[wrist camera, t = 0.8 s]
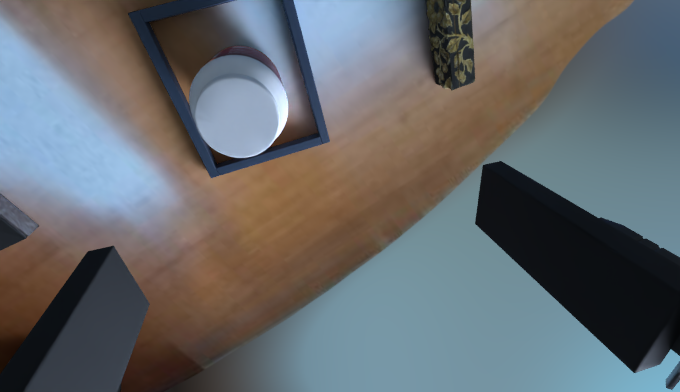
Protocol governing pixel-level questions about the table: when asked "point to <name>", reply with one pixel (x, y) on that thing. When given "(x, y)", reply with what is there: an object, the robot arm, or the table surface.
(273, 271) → the table surface
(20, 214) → the picture frame
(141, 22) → the dark grey open frame
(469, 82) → the decorative block
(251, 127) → the pill bottle
